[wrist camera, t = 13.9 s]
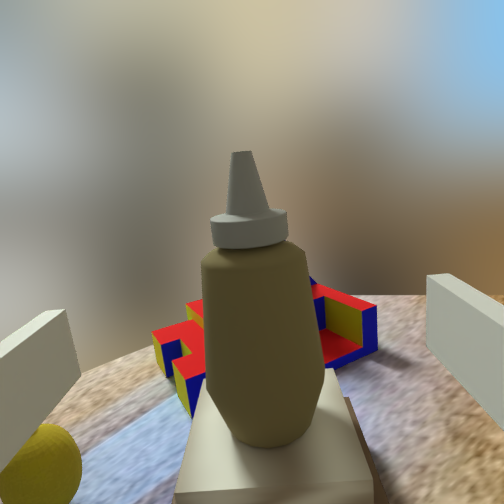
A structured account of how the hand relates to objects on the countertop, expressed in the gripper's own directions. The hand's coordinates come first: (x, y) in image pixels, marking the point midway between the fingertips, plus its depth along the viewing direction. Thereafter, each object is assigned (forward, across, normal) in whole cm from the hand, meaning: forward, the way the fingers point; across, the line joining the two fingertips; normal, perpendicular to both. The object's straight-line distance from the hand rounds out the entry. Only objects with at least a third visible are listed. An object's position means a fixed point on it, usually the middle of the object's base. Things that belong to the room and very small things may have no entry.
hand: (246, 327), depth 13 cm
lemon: (+11, -18, -20) cm, 29 cm away
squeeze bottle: (+10, 0, -12) cm, 15 cm away
